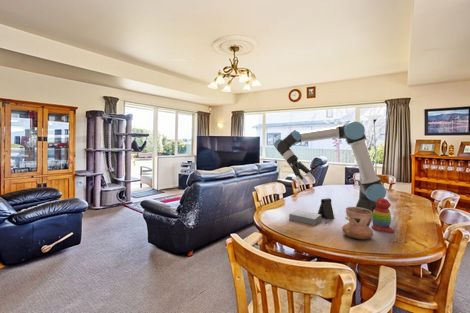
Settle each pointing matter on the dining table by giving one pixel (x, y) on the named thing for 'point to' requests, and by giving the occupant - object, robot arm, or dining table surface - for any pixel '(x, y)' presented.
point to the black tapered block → (326, 209)
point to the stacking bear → (382, 216)
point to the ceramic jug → (358, 223)
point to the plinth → (305, 217)
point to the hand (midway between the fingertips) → (310, 181)
